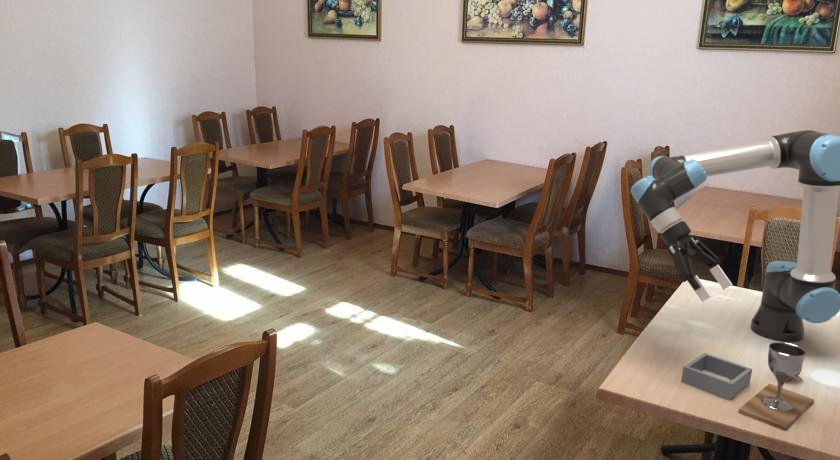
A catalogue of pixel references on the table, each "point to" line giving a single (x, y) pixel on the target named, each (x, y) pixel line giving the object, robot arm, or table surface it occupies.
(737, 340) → the table surface
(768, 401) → the wine glass
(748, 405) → the board
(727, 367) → the square frame
